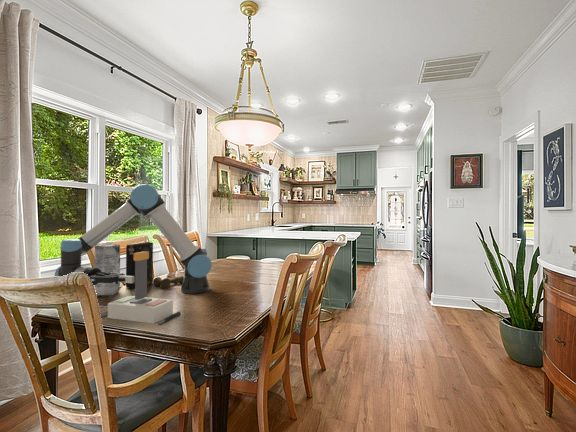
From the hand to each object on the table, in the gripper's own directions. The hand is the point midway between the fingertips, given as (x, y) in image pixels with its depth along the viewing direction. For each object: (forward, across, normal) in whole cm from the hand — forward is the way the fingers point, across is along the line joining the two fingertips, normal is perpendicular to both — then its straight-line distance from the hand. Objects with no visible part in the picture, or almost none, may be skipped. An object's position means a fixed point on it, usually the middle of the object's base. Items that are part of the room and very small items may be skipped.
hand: (133, 279), depth 131 cm
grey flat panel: (+4, 0, -15) cm, 15 cm away
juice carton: (-37, -24, -15) cm, 47 cm away
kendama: (-19, -48, -15) cm, 54 cm away
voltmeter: (-34, -43, -15) cm, 57 cm away
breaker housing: (+4, 0, -15) cm, 15 cm away
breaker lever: (+4, 0, -8) cm, 9 cm away
